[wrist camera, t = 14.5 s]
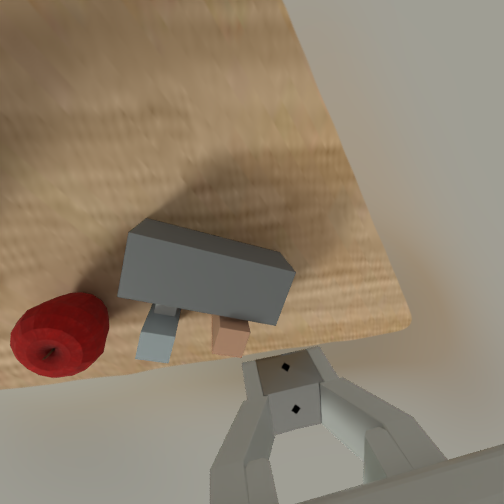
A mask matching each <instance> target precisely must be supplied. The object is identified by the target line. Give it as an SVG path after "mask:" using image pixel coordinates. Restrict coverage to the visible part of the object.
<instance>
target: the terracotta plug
mask: <svg viewBox="0 0 504 504" xmlns="http://www.w3.org/2000/svg"><path fill="white" fill-rule="evenodd" d="M249 335H250V328H249V324H248V321H247V320H241V319H236V318H230V317H225V316H219V315H214V314H212V354H218V355H225V356H232V357H239V358H242V355H243V353H244V350H245V347H246V344H247V341H248V338H249Z"/></svg>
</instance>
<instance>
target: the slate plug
mask: <svg viewBox="0 0 504 504" xmlns="http://www.w3.org/2000/svg"><path fill="white" fill-rule="evenodd" d="M180 311H181V308H176V307H170V306H165V305H159V304H154V303H153V304H152V307H151V309H150V311H149V314H148V316H147V318H146V321H145V323H144V326H143V328H142V330H141V334H140V338H139V343H138V348H137V352H136V357H135V359H140V360H147V361H155V362H162V363H169V359H170V355H171V351H172V347H173V343H174V340H175V335H176V331H177V326H178V321H179V316H180Z"/></svg>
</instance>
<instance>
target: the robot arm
mask: <svg viewBox="0 0 504 504" xmlns="http://www.w3.org/2000/svg"><path fill="white" fill-rule="evenodd" d="M242 370H243V377H244V382H245V389H246V395H247V400H246V401H243V403H242V405H241V407H240V409H239V411H238V414H237V415H236V417H235V419H234V421H233V423H232V425H231V428H230V430H229V432H228V434H227V436H226V438H225V440H224V442H223V444H222V446H221V448H220V450H219V452H218V454H217V456H216V458H215V461H214V463H213V465H212V467H211V469H210V504H279V503H278V498H277V494H276V489H275V484H274V480H273V475H272V470H271V465H270V461H269V457H270V453H271V449H272V445H273V441H274V438H275V437H274V435H277V434H281V433H284V432H288V431H291V430H295V429H298V428H303V427H307V426H312V425H317V424H321V423H322V425H323V426H324V427H325V428H326V429H327V430H328V431H330V432H331V433H332V434H333V435H334V436H335V437H336V438H337V439H338V440H340V441H341V442H342V443H343V444H344V445H345V446H346V447H347V448H348V449H350V450H351V451H352V452H353V453H354V454H355V455H356V456H357V457H358V458H359V459H361V460H362V461H363V462H364V472H363V485H359V486H356V487H352V488H349V489H345V490H342V491H338V492H335V493H332V494H328V495H325V496H321V497H318V498H314V499H311V500H307V501H304V502H300V503H297V504H504V444H502V445H498V446H495V447H491V448H488V449H484V450H481V451H477V452H474V453H470V454H467V455H463V456H460V457H456V458H453V459H449V460H448V459H447V458H446V457H445V456H444V455H443V453H442V452H441V451H440V450H439V448H438V447H437V446H436V445H435V443H434V442H433V441H432V440H431V439H430V437H429V436H428V435H427V434H426V432H425V431H424V430H423V429H422V427H421V426H420V425H419V424H418V422H417V421H416V420H415V419H414V417H412V416H411V415H409V414H407V413H405V412H403V411H402V410H400V409H398V408H396V407H395V406H393V405H391V404H389V403H388V402H386V401H384V400H382V399H380V398H379V397H377V396H375V395H373V394H372V393H370V392H368V391H366V390H365V389H363V388H361V387H359V386H357V385H355V384H354V383H352V382H350V381H349V380H347V379H345V378H339V377H338V375H337V374H336V372H335V371H334V369H333V367H332V366H331V364H330V363H329V361H328V359H327V358H326V356H325V354H324V353H323V351H322V350H321V348H320V347H319V346H315V347H311V348H307V349H303V350H299V351H295V352H290V353H286V354H282V355H278V356H272V357H267V358H262V359H257V360H254V361H248V362H243V363H242Z"/></svg>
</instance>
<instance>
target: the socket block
mask: <svg viewBox="0 0 504 504" xmlns="http://www.w3.org/2000/svg"><path fill="white" fill-rule="evenodd" d="M295 273H296V272H295V271H294V269H293V268H292V267H291V266H290V264H289V263H288V262H287V261H286V259H285V258H284V257H283V256H282V254H281V253H280V252H277V251H273V250H269V249H265V248H261V247H257V246H253V245H249V244H246V243H242V242H238V241H234V240H230V239H226V238H222V237H218V236H214V235H210V234H206V233H203V232H199V231H195V230H191V229H187V228H183V227H179V226H175V225H171V224H167V223H163V222H160V221H156V220H152V219H148V218H146V219H144V220H143V221H142V222H141V223H140V224H138V225H137V226H136V227H135V228H133V229H132V230H131V231H130V232H129V233H128V239H127V244H126V250H125V256H124V261H123V267H122V273H121V278H120V284H119V290H118V295H117V297H121V298H126V299H132V300H137V301H143V302H148V303H154V304H159V305H165V306H170V307H176V308H181V309H186V310H192V311H197V312H203V313H208V314H214V315H219V316H225V317H230V318H236V319H241V320H247V321H252V322H258V323H263V324H269V325H274V326H276V324H277V321H278V318H279V316H280V313H281V310H282V308H283V305H284V303H285V300H286V297H287V295H288V292H289V289H290V287H291V284H292V281H293V279H294V276H295Z"/></svg>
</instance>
